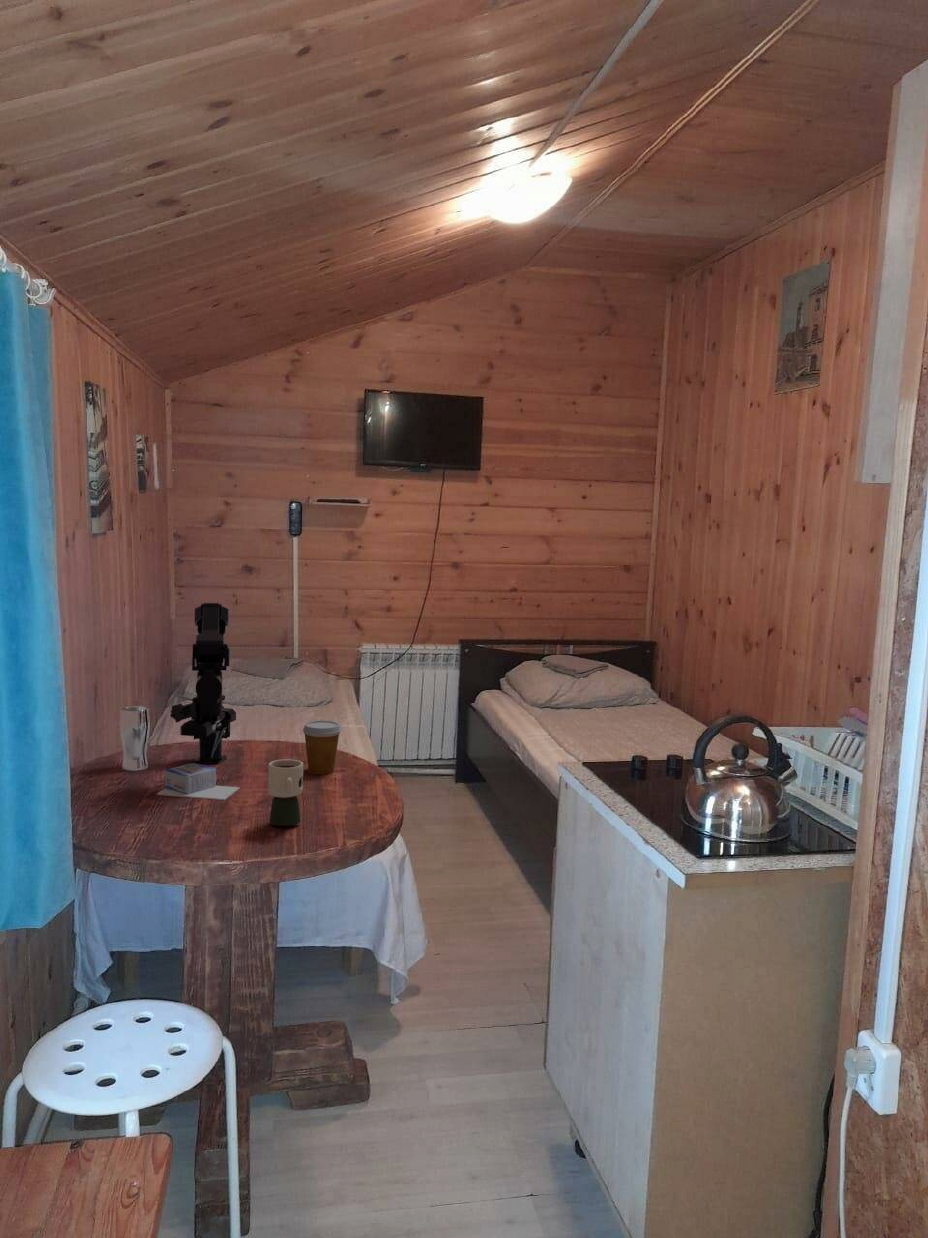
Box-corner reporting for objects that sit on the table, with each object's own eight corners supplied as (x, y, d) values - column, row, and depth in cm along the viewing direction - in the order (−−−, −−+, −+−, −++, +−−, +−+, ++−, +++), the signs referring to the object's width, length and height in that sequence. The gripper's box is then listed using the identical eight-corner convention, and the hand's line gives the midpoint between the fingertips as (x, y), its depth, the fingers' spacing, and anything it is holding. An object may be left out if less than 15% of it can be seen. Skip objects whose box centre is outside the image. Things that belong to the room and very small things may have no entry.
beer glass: (143, 772, 223) (143, 712, 221) (115, 771, 223) (115, 710, 221) (153, 764, 230) (153, 706, 228) (126, 763, 230) (126, 705, 228)
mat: (174, 783, 215) (174, 782, 215) (239, 788, 213) (239, 787, 213) (156, 794, 206) (156, 793, 206) (224, 800, 204) (224, 799, 204)
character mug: (306, 831, 186) (307, 769, 184) (271, 834, 183) (272, 771, 182) (297, 814, 196) (298, 755, 195) (264, 817, 194) (264, 757, 192)
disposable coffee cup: (341, 766, 235) (342, 720, 233) (338, 777, 225) (339, 729, 224) (304, 765, 234) (305, 719, 233) (299, 776, 225) (300, 728, 223)
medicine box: (216, 768, 212) (186, 775, 205) (216, 786, 213) (186, 795, 206) (194, 762, 217) (164, 769, 209) (193, 780, 217) (163, 788, 210)
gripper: (193, 683, 223) (193, 745, 224) (158, 697, 204) (158, 765, 206) (237, 686, 221) (236, 748, 223) (205, 700, 203) (205, 769, 205)
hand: (209, 757), depth 214 cm, fingers closed
